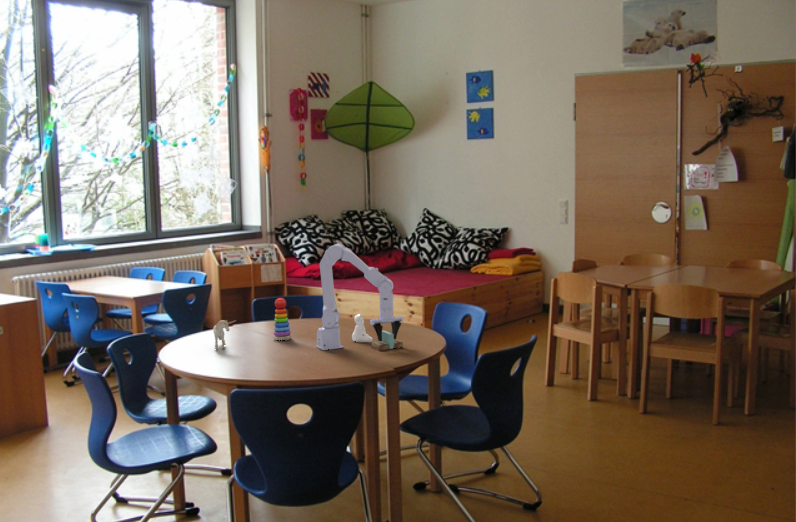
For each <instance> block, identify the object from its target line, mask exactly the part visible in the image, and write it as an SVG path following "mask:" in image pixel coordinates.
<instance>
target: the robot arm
mask: <svg viewBox="0 0 796 522" xmlns="http://www.w3.org/2000/svg"><path fill="white" fill-rule="evenodd" d="M339 260H341V261H343V262H344V261H345V262H349V263H350V264H352V265H353V266H354V267H355V268H357V269H358V270H359V271H360V272H362V273H363V274H364V275H363V277H364V278H365V279H366V280H367V281H368V282H369V283H370V284H372V285H373V286H374V287H376V288H377V290H378V292H379V299H378V300H379V318H373V319H370V320H369V325H371V326H372V327H373V329H374V331H375V333H376V336H377V341H382V331H383V327H384V326H383V325H382V324H390V326H391V333H392V334H394V339H397V336H398V333H399V329H400V328H401V326H402V323H401V322H404V316H400V315H399V316H394V293H393V289H394V283H393V281H392V280H391V279H390V278H388V277H387V276H386V275H383V274H382V273H381V272H380V271H379V268H378V267H374V266H368V265H367V264H366V263H365V262H364V261H363V260H362V259H361V258H360V257H358V256H357V254H355V253H354V252H353V251H352V250H351V249H350V248H348V247H346V246H345V245H344V244H342V243H338V242H337V243H335V244H333V245H330V246H329V247H328V248H327V249H326V250H325V252H324V254H323V256H322V258H321V260H320V262H319V271H320V280H321V291H322V303H323V306H322V316H321V324H322V327H318V328H317V329H316V347H317V348H318V349H319V350H322V351H328V349H329V350H335V349H337V350H338V349H342V348H344V347H345V346H343V345H342V344H341V333H340V332H341V329H340V328H341V327H340V324H339V321H340V319H341V314H340V312H339V310H338V307H337V304H336V296H335V285H334V276H333V265H335V264H336V263H337V261H339Z"/></svg>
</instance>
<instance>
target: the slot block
mask: <svg viewBox="0 0 796 522" xmlns="http://www.w3.org/2000/svg"><path fill="white" fill-rule="evenodd" d="M372 347H373V348H372ZM400 347H403V348H404V342H403V341H402V340H399V339H397V338H396V339H394V348H397V349H401V348H400ZM371 348H372V349H374V348H375V349H374V350H376V349H377V350H376V351H378V350H382V351H387V350H386V349H389V350H391V349H390V348H388V344H387V343H385V342H383V341H378V340H375V341H372V342H371Z"/></svg>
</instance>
